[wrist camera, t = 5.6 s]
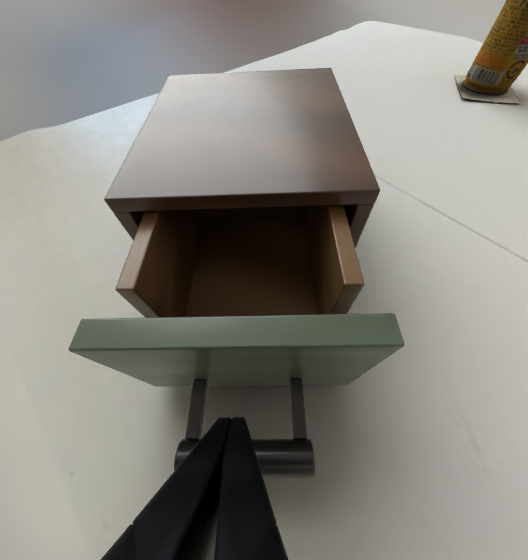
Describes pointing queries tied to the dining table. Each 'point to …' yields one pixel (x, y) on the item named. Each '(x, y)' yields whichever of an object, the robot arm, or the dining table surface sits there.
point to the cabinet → (246, 148)
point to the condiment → (499, 57)
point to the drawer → (243, 313)
